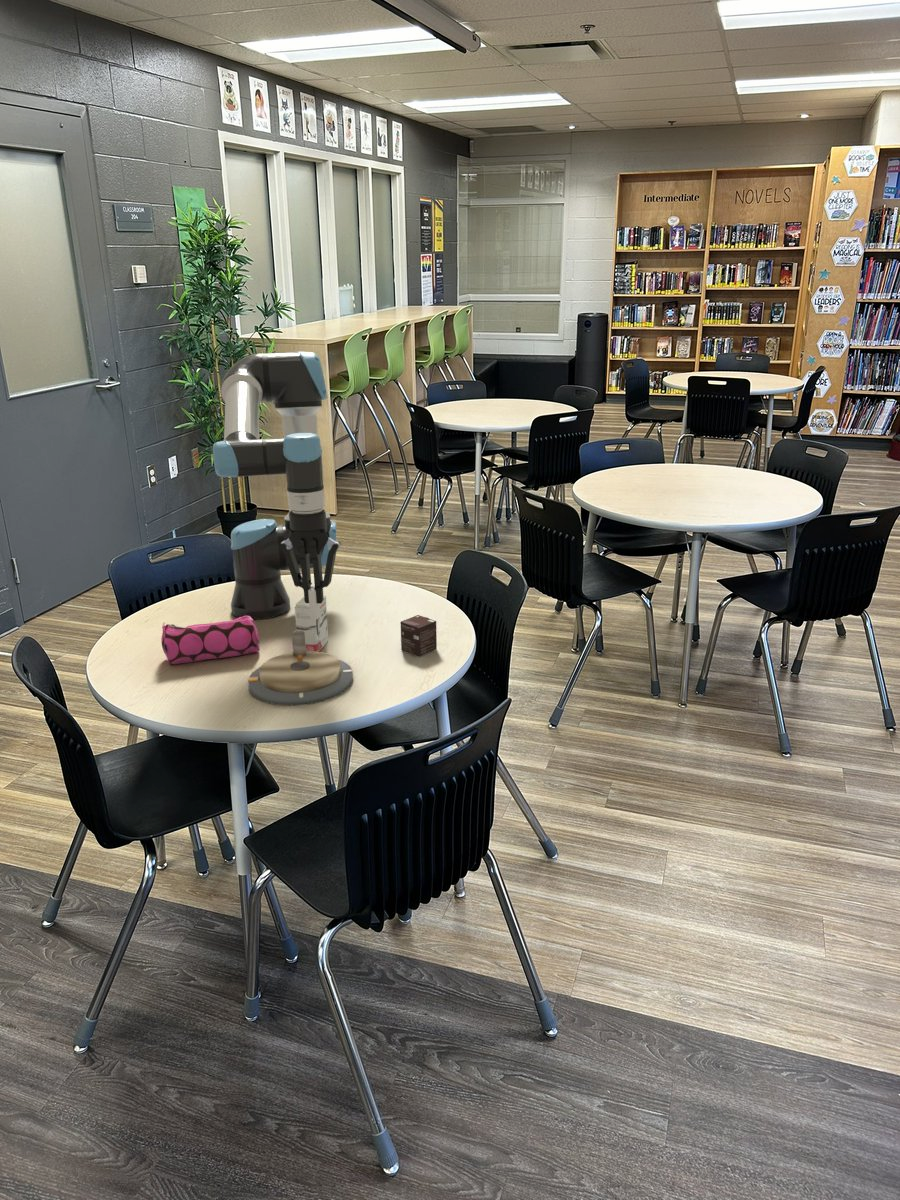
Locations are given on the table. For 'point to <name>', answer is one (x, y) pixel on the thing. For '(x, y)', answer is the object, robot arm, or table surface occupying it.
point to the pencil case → (209, 640)
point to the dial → (300, 669)
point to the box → (418, 635)
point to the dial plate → (301, 697)
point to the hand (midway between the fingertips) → (315, 616)
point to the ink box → (312, 625)
